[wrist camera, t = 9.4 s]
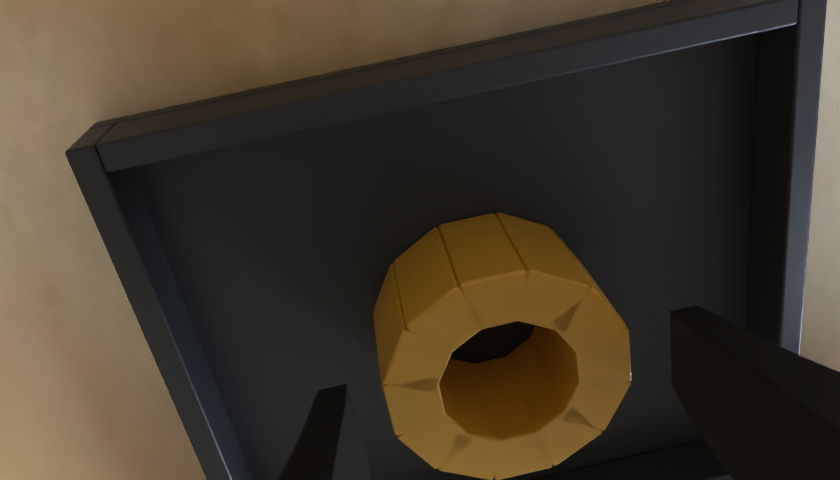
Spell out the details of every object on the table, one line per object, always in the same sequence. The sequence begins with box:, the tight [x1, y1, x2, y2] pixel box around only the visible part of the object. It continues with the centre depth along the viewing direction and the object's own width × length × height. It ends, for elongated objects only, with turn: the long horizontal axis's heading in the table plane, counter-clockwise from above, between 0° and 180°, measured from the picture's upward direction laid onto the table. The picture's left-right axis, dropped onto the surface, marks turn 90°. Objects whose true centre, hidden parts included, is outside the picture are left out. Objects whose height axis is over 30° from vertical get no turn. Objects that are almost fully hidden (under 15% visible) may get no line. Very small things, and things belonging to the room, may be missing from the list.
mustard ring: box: [373, 212, 632, 480], centre depth 16 cm, size 5×5×3 cm
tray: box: [65, 0, 827, 480], centre depth 17 cm, size 15×13×2 cm
